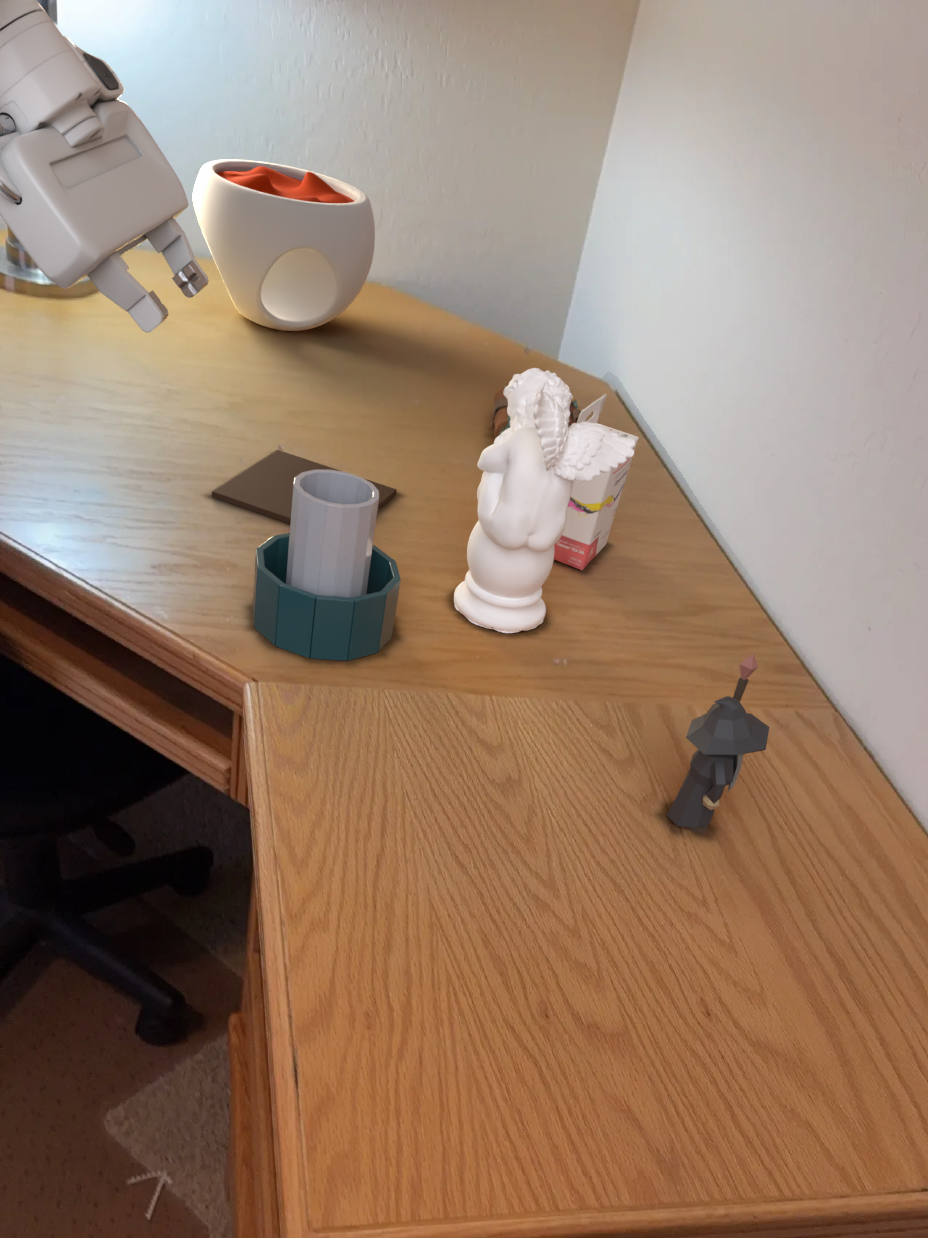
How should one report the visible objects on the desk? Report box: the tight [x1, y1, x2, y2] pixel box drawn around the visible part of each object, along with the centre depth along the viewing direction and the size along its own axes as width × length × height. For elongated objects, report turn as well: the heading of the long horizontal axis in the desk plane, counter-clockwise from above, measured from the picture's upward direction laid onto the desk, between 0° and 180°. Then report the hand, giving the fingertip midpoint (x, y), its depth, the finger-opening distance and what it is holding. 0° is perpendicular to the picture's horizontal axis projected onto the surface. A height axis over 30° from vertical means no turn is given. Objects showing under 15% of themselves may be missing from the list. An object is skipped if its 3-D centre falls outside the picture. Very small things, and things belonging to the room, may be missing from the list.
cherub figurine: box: [453, 367, 635, 634], centre depth 90 cm, size 12×12×22 cm
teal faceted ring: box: [252, 532, 402, 662], centre depth 88 cm, size 12×12×6 cm
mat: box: [211, 449, 398, 525], centre depth 108 cm, size 14×14×1 cm
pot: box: [192, 158, 376, 332], centre depth 142 cm, size 24×24×18 cm
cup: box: [286, 470, 379, 598], centre depth 86 cm, size 7×7×12 cm
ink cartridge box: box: [554, 393, 640, 571], centre depth 106 cm, size 9×5×15 cm, turn 157°
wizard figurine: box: [666, 653, 770, 835], centre depth 76 cm, size 8×6×12 cm
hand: (180, 307), depth 75 cm, fingers open, 8 cm apart
